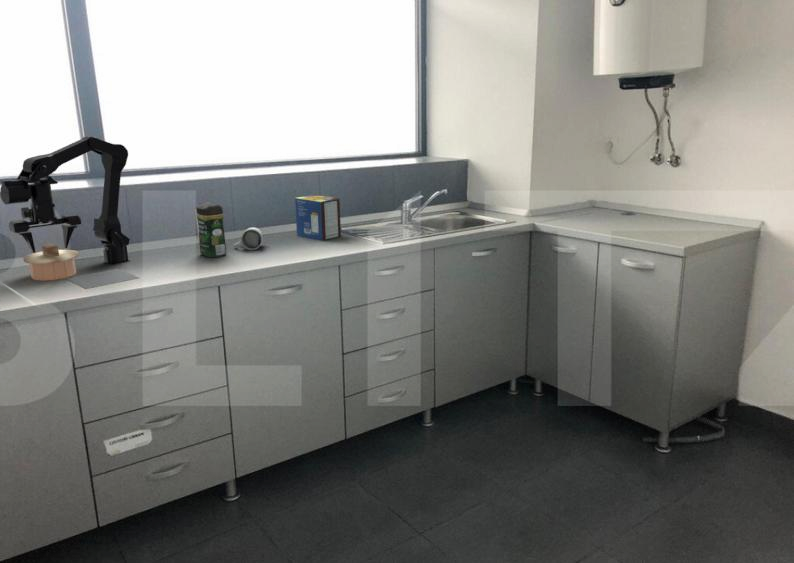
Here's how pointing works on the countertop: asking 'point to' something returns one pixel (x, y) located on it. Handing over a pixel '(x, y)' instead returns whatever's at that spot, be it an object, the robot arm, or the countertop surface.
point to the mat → (102, 278)
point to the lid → (50, 255)
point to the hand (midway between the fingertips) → (50, 250)
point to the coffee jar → (211, 229)
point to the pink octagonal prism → (53, 270)
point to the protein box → (318, 217)
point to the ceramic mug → (250, 239)
